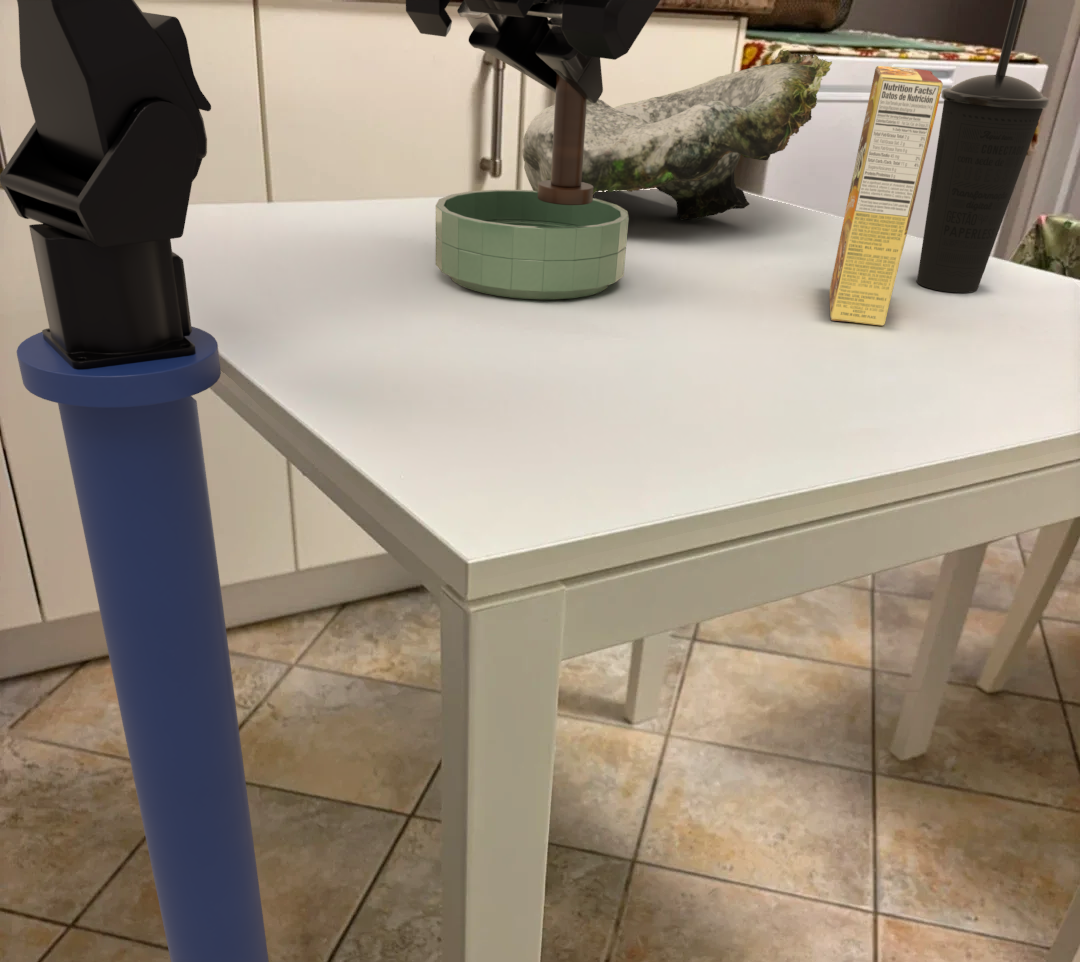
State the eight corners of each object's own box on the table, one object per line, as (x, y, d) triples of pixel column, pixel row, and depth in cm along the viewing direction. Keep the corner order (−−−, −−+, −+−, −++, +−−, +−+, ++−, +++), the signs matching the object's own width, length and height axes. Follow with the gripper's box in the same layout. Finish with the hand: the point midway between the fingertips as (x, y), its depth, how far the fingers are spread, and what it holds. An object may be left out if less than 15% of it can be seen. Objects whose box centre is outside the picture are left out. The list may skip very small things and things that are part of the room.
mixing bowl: (502, 312, 76) (504, 235, 74) (402, 265, 86) (401, 195, 83) (659, 291, 83) (667, 220, 80) (552, 250, 93) (555, 185, 90)
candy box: (827, 291, 86) (871, 64, 77) (882, 297, 85) (933, 68, 77) (828, 321, 79) (878, 74, 70) (889, 328, 78) (946, 79, 69)
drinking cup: (963, 302, 85) (1045, -6, 74) (880, 280, 90) (945, -14, 78) (1014, 290, 90) (1098, -4, 78) (932, 269, 94) (1000, -11, 83)
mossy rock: (910, 147, 101) (885, -36, 92) (667, 314, 95) (613, 136, 86) (708, 139, 123) (671, -10, 114) (499, 274, 117) (441, 129, 107)
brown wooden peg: (589, 207, 78) (605, -13, 71) (533, 202, 78) (543, -18, 71) (595, 197, 81) (611, -15, 74) (541, 192, 82) (552, -19, 74)
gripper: (671, -238, 59) (755, 9, 72) (437, -225, 69) (548, -10, 82) (562, -65, 59) (666, 152, 72) (343, -78, 69) (469, 115, 82)
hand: (584, 95), depth 77 cm, fingers closed on brown wooden peg, 2 cm apart
